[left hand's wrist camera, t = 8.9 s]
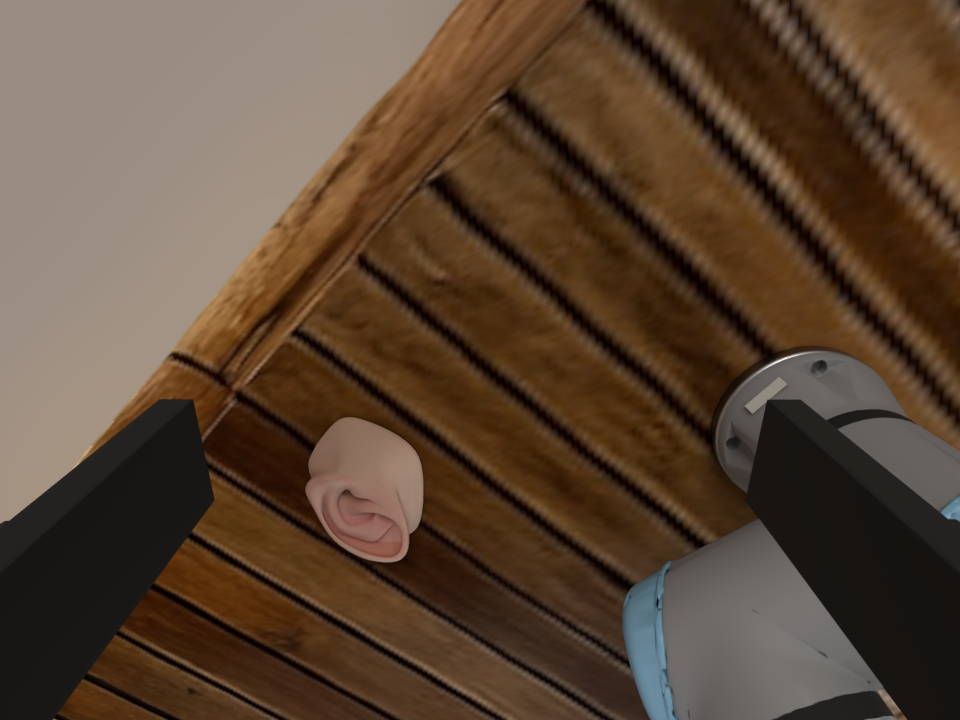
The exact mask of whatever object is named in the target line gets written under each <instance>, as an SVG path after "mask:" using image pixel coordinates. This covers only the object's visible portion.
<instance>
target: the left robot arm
mask: <svg viewBox="0 0 960 720" xmlns="http://www.w3.org/2000/svg"><path fill="white" fill-rule="evenodd" d="M711 440H712V447H713V451H714V454H715V457H716V459H717V461H718V463H719V464H720V466H721V467H722V469H723V470H724V471H725V473H726V474H727V475H728V477H729V478H730V479H731V480H732V481H733V482H734V483H735V484H736V485H737V486H738V487H740V488H741V489H742V490H743V491H744V492H746V493H747V495H746V501H747V503H748V504H749V506H750V507H751V508H752V510H753V511H754V512H755V514H756V515H757V516H758V519H756V520H754V521H752V522H750V523H748V524H746V525H744V526H743V527H741V528H739V529H737V530H735V531H733V532H731V533H729V534H727V535H725V536H723V537H722V538H720V539H718V540H716V541H714V542H712V543H710V544H708V545H706V546H704V547H702V548H700V549H698V550H696V551H694V552H692V553H690V554H688V555H686V556H684V557H682V558H680V559H678V560H674V561H669V562H667V563H666V564H665V565H664V566H663V567H662V569H660V570H659V571H657V572H656V573H654V574H652V575H650V576H649V577H647V578H645V579H644V580H642V581H640V582H638V583H637V584H635V585H634V586H633V587H632V588H631V589H630V590H629V592H628V593H627V595H626V598H625V601H624V605H623V614H622V625H623V634H624V641H625V646H626V651H627V655H628V659H629V663H630V666H631V670H632V673H633V676H634V680H635V683H636V686H637V688H638V691H639V694H640V697H641V700H642V702H643V705H644V707H645V710H646V712H647V714H648V716H649V718H650V719H651V720H897V719H896V718H895V717H894V715H893V714H892V712H891V711H890V709H889V708H888V707H887V705H886V704H885V702H884V701H883V699H882V698H881V697H880V695H879V694H878V689H881V688H883V687H884V689H885V690H886V691H887V693H888V694H889V695H890V697H891V698H892V699H893V701H894V702H895V704H896V705H897V706H898V708H899V709H900V710H901V712H902V713H903V714H904V716H905V717H906V718H907V720H960V451H959V450H957V449H955V448H954V447H952V446H951V445H949V444H948V443H946V442H944V441H943V440H941V439H940V438H938V437H936V436H935V435H933V434H932V433H930V432H929V431H927V430H925V429H924V428H922V427H921V426H919V425H917V424H916V423H914V422H913V421H911V420H910V419H908V417H907V415H906V414H905V412H904V411H903V409H902V408H901V406H900V405H899V403H898V402H897V400H896V399H895V397H894V395H893V394H892V392H891V391H890V389H889V388H888V386H887V385H886V383H885V382H884V381H883V379H882V378H881V377H880V376H879V375H878V374H877V373H876V372H875V371H874V370H873V369H872V368H870V367H869V366H868V365H866V364H865V363H863V362H862V361H860V360H858V359H857V358H855V357H853V356H851V355H849V354H847V353H845V352H843V351H840V350H837V349H833V348H829V347H821V346H806V347H798V348H792V349H788V350H785V351H781V352H778V353H776V354H773V355H771V356H769V357H767V358H765V359H763V360H761V361H759V362H758V363H756V364H754V365H753V366H751V367H750V368H749V369H747V370H746V371H745V372H744V373H742V374H741V375H740V376H739V377H738V378H737V379H736V380H735V381H734V382H733V383H732V385H731V386H730V387H729V388H728V390H727V391H726V392H725V394H724V395H723V397H722V399H721V400H720V402H719V404H718V407H717V409H716V412H715V414H714V418H713V422H712V429H711ZM213 501H214V495H213V490H212V486H211V481H210V476H209V472H208V467H207V462H206V458H205V453H204V448H203V444H202V439H201V435H200V430H199V425H198V421H197V416H196V411H195V407H194V402H193V399H159V400H158V401H157V402H156V403H154V404H153V405H152V406H151V407H150V408H148V409H147V410H146V411H145V412H143V413H142V414H141V415H140V416H138V417H137V418H136V419H135V420H133V421H132V422H131V423H130V424H129V425H127V426H126V427H125V428H124V429H122V430H121V431H120V432H119V433H117V434H116V435H115V436H114V437H112V438H111V439H110V440H109V441H107V442H106V443H105V444H104V445H103V446H101V447H100V448H99V449H98V450H96V451H95V452H94V453H93V454H91V455H90V456H89V457H88V458H86V459H85V460H84V461H83V462H82V463H80V464H79V465H78V466H77V467H75V468H74V469H73V470H72V471H70V472H69V473H68V474H67V475H66V476H64V477H63V478H62V479H61V480H59V481H58V482H57V483H56V484H54V485H53V486H52V487H51V488H50V489H48V490H47V491H46V492H44V493H43V494H42V495H41V496H40V497H38V498H37V499H36V500H35V501H33V502H32V503H31V504H30V505H28V506H27V507H26V508H25V509H23V510H22V511H21V512H20V513H18V514H17V515H16V516H15V517H14V518H12V519H11V520H10V521H4V522H3V523H1V524H0V720H53V718H54V717H55V716H56V714H57V713H58V712H59V710H60V709H61V708H62V706H63V705H64V704H65V702H66V701H67V699H68V698H69V697H70V695H71V694H72V693H73V691H74V690H75V689H76V687H77V686H78V685H79V683H80V682H81V680H82V679H83V678H84V676H85V675H86V674H87V672H88V671H89V670H90V668H91V667H92V666H93V664H94V663H95V661H96V660H97V659H98V657H99V656H100V655H101V653H102V652H103V651H104V649H105V648H106V647H107V645H108V644H109V642H110V641H111V640H112V638H113V637H114V636H115V634H116V633H117V632H118V630H119V629H120V628H121V626H122V625H123V624H124V622H125V621H126V619H127V618H128V617H129V615H130V614H131V613H132V611H133V610H134V609H135V607H136V606H137V605H138V603H139V602H140V600H141V599H142V598H143V596H144V595H145V594H146V592H147V591H148V590H149V588H150V587H151V586H152V584H153V583H154V581H155V580H156V579H157V577H158V576H159V575H160V573H161V572H162V571H163V569H164V568H165V567H166V565H167V564H168V563H169V561H170V560H171V558H172V557H173V556H174V554H175V553H176V552H177V550H178V549H179V548H180V546H181V545H182V544H183V542H184V541H185V539H186V538H187V537H188V535H189V534H190V533H191V531H192V530H193V529H194V527H195V526H196V525H197V523H198V522H199V520H200V519H201V518H202V516H203V515H204V514H205V512H206V511H207V510H208V508H209V507H210V506H211V504H212V503H213Z"/></svg>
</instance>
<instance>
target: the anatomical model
mask: <svg viewBox="0 0 960 720" xmlns="http://www.w3.org/2000/svg"><path fill="white" fill-rule="evenodd" d="M308 466H309V472H310V475H311V477H312V478H311V479H310V480H309V482H308V483H307V485H306V495H307V497H308V499H309V501H310V503H311V505H312V507H313V508H314V510H315V512H316V514H317V516H318V518H319V520H320V522H321V523H322V525H323V527H324V528H325V530H326V531H327V533H328V534H329V535H330V536H331V538H332V539H333V540H334V541H335V542H337V543H338V544H339V545H340V546H342V547H343V548H345V549H346V550H348V551H349V552H351V553H353V554H355V555H357V556H359V557H362V558H365V559H368V560H372V561H377V562H395V561H398V560H400V559H402V558H403V557H404V556H405V554H406V553H407V550H408V546H409V534H410V533H412V532H413V531H414V530H415V529H416V528H417V527H418V525H419V522H420V519H421V515H422V507H423V473H422V466H421V462H420V459H419V457H418V455H417V453H416V451H415V450H414V449H413V448H412V447H411V445H410V444H408V443H407V442H406V441H405V440H404V439H402V438H401V437H399V436H398V435H396V434H394V433H393V432H391V431H389V430H387V429H385V428H383V427H381V426H378V425H376V424H374V423H371V422H368V421H365V420H362V419H359V418H353V417H346V418H342V419H340V420H338V421H337V422H335V423H334V424H333V425H332V426H331V427H330V428H329V429H328V430H327V432H326V433H325V434H324V435H323V437H322V438H321V439H320V441H319V442H318V443H317V445H316V447H315V449H314V451H313V453H312V455H311V457H310V459H309V464H308Z"/></svg>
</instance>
